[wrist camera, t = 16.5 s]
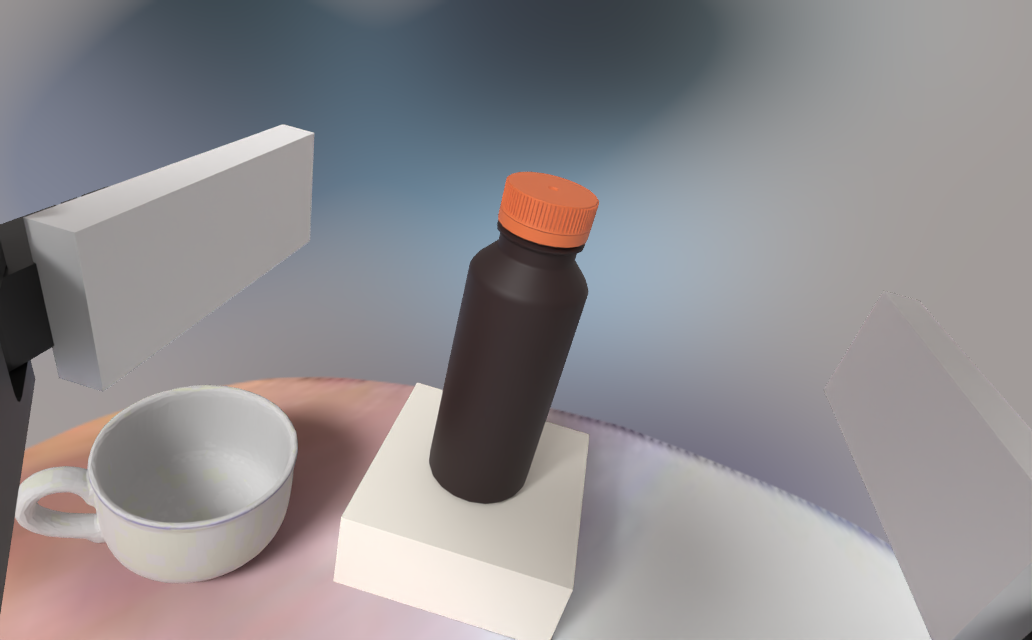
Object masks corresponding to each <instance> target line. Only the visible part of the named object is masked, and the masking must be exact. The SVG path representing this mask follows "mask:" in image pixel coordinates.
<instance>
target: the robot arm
mask: <svg viewBox="0 0 1032 640" xmlns="http://www.w3.org/2000/svg"><path fill="white" fill-rule="evenodd" d="M313 149H314V133H312V132H309V131H305V130H302V129H298V128H294V127H291V126H287V125H280V126H277V127H275V128H272V129H269V130H266V131H263V132H260V133H258V134H255V135H252V136H249V137H247V138H244V139H241V140H238V141H235V142H232V143H230V144H227V145H224V146H221V147H219V148H216V149H213V150H210V151H208V152H205V153H202V154H199V155H196V156H193V157H191V158H188V159H185V160H182V161H179V162H177V163H174V164H171V165H168V166H165V167H163V168H160V169H157V170H154V171H152V172H149V173H146V174H143V175H140V176H138V177H135V178H132V179H129V180H127V181H124V182H121V183H118V184H115V185H112V186H109V187H104V188H102V189H99V190H96V191H93V192H90V193H87V194H84V195H82V196H81V197H79V198H73V199H71V200H68V201H65V202H63V203H61V204H60V205H54V206H51V207H48V208H45V209H42V210H40V211H37V212H34V213H31V214H28V215H26V216H23V217H20V218H17V219H14V220H12V221H9V222H6V223H3V224H0V612H1V605H2V599H3V592H4V585H5V579H6V572H7V565H8V558H9V552H10V545H11V538H12V531H13V525H14V518H15V511H16V505H17V498H18V491H19V484H20V478H21V471H22V464H23V458H24V451H25V444H26V436H27V431H28V424H29V417H30V410H31V404H32V397H33V390H34V383H35V376H34V372H33V368H32V365H31V359H33V358H34V357H36V356H38V355H39V354H41V353H43V352H44V351H46V350H48V349H50V348H51V347H52V348H53V353H54V357H55V362H56V366H57V370H58V375H59V378H61V379H64V380H67V381H71V382H74V383H77V384H80V385H83V386H86V387H90V388H93V389H96V390H99V391H102V392H103V391H105V390H106V389H108V388H109V387H110V386H112V385H113V384H115V383H116V382H117V381H119V380H120V379H121V378H123V377H124V376H126V375H127V374H128V373H130V372H131V371H132V370H134V369H135V368H137V367H138V366H139V365H141V364H142V363H143V362H145V361H146V360H147V359H149V358H150V357H152V356H153V355H154V354H156V353H157V352H159V351H160V350H161V349H162V348H164V347H165V346H167V345H168V344H170V343H171V342H172V341H174V340H175V339H176V338H178V337H179V336H180V335H182V334H183V333H185V332H186V331H187V330H189V329H190V328H191V327H193V326H194V325H196V324H197V323H198V322H200V321H201V320H202V319H204V318H205V317H207V316H208V315H209V314H211V313H212V312H213V311H215V310H216V309H217V308H219V307H220V306H222V305H223V304H224V303H226V302H227V301H229V300H230V299H231V298H233V297H234V296H235V295H237V294H238V293H239V292H241V291H242V290H243V289H245V288H246V287H247V286H249V285H251V284H252V283H253V282H255V281H256V280H257V279H259V278H260V277H261V276H263V275H264V274H266V273H267V272H268V271H270V270H271V269H272V268H274V267H275V266H277V265H278V264H279V263H281V262H282V261H283V260H285V259H286V258H287V257H289V256H290V255H292V254H293V253H294V252H296V251H297V250H299V249H300V248H301V247H303V246H304V245H305V244H307V243H308V242H309V241H310V226H311V200H312V199H311V198H312V175H313V174H312V173H313ZM824 392H825V394H826V397H827V399H828V401H829V404H830V406H831V408H832V411H833V413H834V415H835V418H836V420H837V422H838V424H839V427H840V429H841V431H842V434H843V436H844V438H845V441H846V443H847V445H848V447H849V450H850V452H851V454H852V457H853V459H854V461H855V463H856V466H857V468H858V470H859V473H860V475H861V477H862V480H863V482H864V484H865V487H866V489H867V491H868V494H869V496H870V498H871V501H872V503H873V505H874V507H875V510H876V512H877V514H878V517H879V519H880V521H881V524H882V526H883V528H884V531H885V533H886V535H887V537H888V540H889V542H890V544H891V547H892V549H893V551H894V554H895V556H896V558H897V561H898V563H899V565H900V568H901V570H902V572H903V574H904V577H905V579H906V581H907V584H908V586H909V588H910V591H911V593H912V595H913V598H914V600H915V602H916V604H917V607H918V609H919V611H920V614H921V616H922V618H923V621H924V623H925V625H926V628H927V630H928V632H929V634H930V637H931V639H932V640H1032V430H1031V429H1030V428H1029V426H1028V425H1027V424H1026V423H1025V422H1024V420H1023V419H1022V418H1021V417H1020V416H1019V415H1018V413H1017V412H1016V411H1015V410H1014V409H1013V408H1012V407H1011V405H1010V404H1009V403H1008V402H1007V401H1006V400H1005V399H1004V397H1003V396H1002V395H1001V394H1000V393H999V392H998V390H997V389H996V388H995V387H994V386H993V385H992V384H991V382H990V381H989V380H988V379H987V378H986V377H985V376H984V375H983V373H982V372H981V371H980V370H979V369H978V367H977V366H976V365H975V364H974V363H973V362H972V361H971V360H970V358H969V357H968V356H967V355H966V354H965V353H964V351H963V350H962V349H961V348H960V347H959V346H958V345H957V343H956V342H955V341H954V340H953V339H952V338H951V336H950V335H949V334H948V333H947V332H946V331H945V330H944V328H943V327H942V326H941V325H940V324H939V323H938V321H937V320H936V319H935V318H934V317H933V316H932V315H931V314H930V312H929V311H928V310H927V309H926V308H925V307H924V305H923V304H922V303H921V302H920V301H919V300H917V299H912V298H909V297H906V296H902V295H898V294H895V293H891V292H888V291H883V292H882V294H881V295H880V297H879V299H878V300H877V302H876V304H875V305H874V307H873V308H872V310H871V312H870V313H869V315H868V317H867V319H866V320H865V322H864V324H863V325H862V327H861V328H860V330H859V332H858V333H857V335H856V337H855V338H854V340H853V342H852V343H851V345H850V347H849V348H848V350H847V352H846V353H845V355H844V356H843V358H842V360H841V361H840V363H839V365H838V366H837V368H836V370H835V372H834V373H833V375H832V376H831V378H830V380H829V381H828V383H827V385H826V386H825V388H824Z"/></svg>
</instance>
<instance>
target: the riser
mask: <svg viewBox="0 0 1032 640" xmlns="http://www.w3.org/2000/svg"><path fill="white" fill-rule="evenodd" d="M442 392H443V390H440V389H437V388H433V387H430V386H427V385H423V384H420V383H417V384H416V386H415V388H414V389H413V391H412V393H411V395H410V396H409V398H408V400H407V402H406V404H405V405H404V407H403V409H402V411H401V412H400V414H399V416H398V418H397V419H396V421H395V423H394V425H393V427H392V428H391V430H390V432H389V434H388V435H387V437H386V439H385V441H384V442H383V444H382V446H381V448H380V449H379V451H378V453H377V455H376V457H375V458H374V460H373V462H372V464H371V465H370V467H369V469H368V471H367V472H366V474H365V476H364V478H363V480H362V481H361V483H360V485H359V487H358V488H357V490H356V492H355V494H354V495H353V497H352V499H351V501H350V503H349V504H348V506H347V508H346V510H345V511H344V513H343V515H342V517H341V523H340V531H339V539H338V547H337V556H336V564H335V572H334V580H333V581H334V582H337V583H340V584H343V585H346V586H350V587H353V588H356V589H359V590H362V591H365V592H369V593H372V594H375V595H378V596H381V597H384V598H388V599H391V600H394V601H397V602H400V603H403V604H406V605H410V606H413V607H416V608H419V609H422V610H425V611H429V612H432V613H435V614H438V615H441V616H444V617H447V618H451V619H454V620H457V621H460V622H463V623H466V624H470V625H473V626H476V627H479V628H482V629H485V630H489V631H492V632H495V633H498V634H501V635H504V636H507V637H511V638H514V639H517V640H551V638H552V636H553V633H554V631H555V629H556V627H557V624H558V622H559V620H560V618H561V616H562V613H563V611H564V609H565V607H566V604H567V602H568V600H569V598H570V595H571V593H572V591H573V586H574V576H575V567H576V557H577V548H578V538H579V529H580V519H581V510H582V500H583V491H584V481H585V472H586V462H587V453H588V443H589V434H586V433H583V432H580V431H576V430H573V429H570V428H566V427H563V426H560V425H556V424H553V423H550V422H545V425H544V428H543V431H542V434H541V437H540V440H539V443H538V446H537V449H536V452H535V455H534V458H533V461H532V464H531V467H530V470H529V473H528V476H527V478H526V481H525V483H524V486H523V487H522V488H521V489H520V490H519V491H518V492H517V493H516V494H515V495H514V496H513V497H511V498H509V499H507V500H504V501H502V502H498V503H490V504H481V503H474V502H468V501H466V500H463V499H461V498H458V497H456V496H453V495H452V494H451V493H449V492H448V491H447V490H445V489H444V488H442V487H441V486H440V484H439V483H438V482H437V480H436V479H435V478H434V476H433V474H432V471H431V468H430V464H429V456H430V449H431V444H432V440H433V435H434V430H435V425H436V421H437V416H438V411H439V407H440V402H441V397H442Z"/></svg>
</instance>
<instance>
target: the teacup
mask: <svg viewBox="0 0 1032 640" xmlns="http://www.w3.org/2000/svg"><path fill="white" fill-rule="evenodd" d="M297 453H298V441H297V434H296V431H295V429H294V426H293V424H292V422H291V421H290V419H289V418H288V416H287V415H286V414H285V413H284V412H283V411H282V410H281V409H280V408H279V407H278V406H277V405H275V404H274V403H272V402H271V401H269V400H268V399H266V398H264V397H262V396H260V395H257V394H255V393H252V392H249V391H245V390H242V389H239V388H232V387H227V386H218V385H196V386H187V387H181V388H175V389H173V390H168V391H164V392H159V393H157V394H155V395H151V396H149V397H146V398H144V399H141V400H139V401H138V402H136V403H134V404H132V405H131V406H129V407H127V408H125V409H124V410H122V411H121V412H120V413H118V414H117V415H116V416H115V417H113V418H112V419H111V420H110V421H109V422H108V423H107V424H106V425H105V426H104V427H103V429H102V430H101V432H100V433H99V435H98V436H97V438H96V440H95V442H94V444H93V446H92V449H91V452H90V456H89V459H88V469H84V468H80V467H68V466H64V467H54V468H49V469H44V470H42V471H39V472H37V473H35V474H33V475H31V476H30V477H29V478H27V479H26V480H25V481H24V482H23V483H22V484H21V485H20V486H19V491H18V498H17V505H16V511H15V518H16V519H17V521H18V523H19V524H20V525H21V526H23V527H24V528H26V529H27V530H29V531H31V532H34V533H37V534H41V535H45V536H51V537H61V538H86V539H88V540H90V541H92V542H95V543H107V545H108V547H109V549H110V550H111V552H112V553H113V555H114V556H115V557H116V558H117V559H118V560H119V562H120V563H121V564H122V565H124V566H125V567H126V568H128V569H129V570H130V571H132V572H134V573H136V574H138V575H140V576H142V577H145V578H148V579H151V580H155V581H160V582H165V583H192V582H200V581H205V580H209V579H213V578H216V577H219V576H222V575H224V574H227V573H229V572H231V571H234V570H235V569H237V568H239V567H241V566H243V565H244V564H246V563H247V562H248V561H250V560H251V559H253V558H254V557H255V556H257V555H258V554H259V553H260V552H261V551H262V550H263V549H264V548H265V547H266V546H267V545H268V544H269V542H270V541H271V540H272V539H273V537H274V536H275V534H276V533H277V531H278V529H279V527H280V526H281V524H282V522H283V519H284V517H285V514H286V511H287V507H288V504H289V499H290V493H291V487H292V480H293V470H294V466H295V462H296V458H297ZM61 492H70V493H74V494H77V495H79V496H81V497H82V498H83V499H84V500H85V502H86V503H87V504H89V505H91V506H94V507H95V509H96V512H97V513H96V514H82V513H66V512H59V511H54V510H50V509H47V508H44V507H42V506H40V505H39V504H38V503H37V502H38V501H39V499H40V498H42V497H44V496H46V495H49V494H54V493H61Z"/></svg>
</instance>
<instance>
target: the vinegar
mask: <svg viewBox="0 0 1032 640" xmlns="http://www.w3.org/2000/svg"><path fill="white" fill-rule="evenodd" d="M598 205H599V200H598V199H597V197H596V196H595V195H594V194H593V193H592V192H591V191H590V190H588V189H586V188H584V187H583V186H581V185H579V184H577V183H574V182H572V181H570V180H567V179H564V178H560V177H557V176H553V175H549V174H544V173H536V172H518V173H514V174H511V175H509V176H508V177H507V180H506V184H505V188H504V193H503V197H502V201H501V206H500V210H499V214H498V218H499V219H498V223H497V224H498V225H497V226H498V230H499V231H500V237H499V240H497V241H495V242H494V243H492V244H490V245H489V246H487V247H486V248H483V249H482V250H480V251H479V252H478V253H477V254H476V255H475V256H474V257H473V259H472V260H471V262H470V265H469V270H468V275H467V280H466V285H465V289H464V294H463V298H462V303H461V308H460V313H459V317H458V322H457V327H456V332H455V336H454V341H453V345H452V350H451V355H450V360H449V364H448V369H447V374H446V378H445V383H444V388H443V392H442V397H441V402H440V407H439V411H438V416H437V421H436V425H435V430H434V435H433V440H432V444H431V449H430V456H429V464H430V468H431V471H432V474H433V476H434V478H435V479H436V480H437V482H438V483H439V484H440V486H441V487H442V488H444V489H445V490H447V491H448V492H449V493H451V494H452V495H453V496H456V497H458V498H461V499H463V500H466V501H468V502H474V503H481V504H490V503H498V502H502V501H504V500H507V499H509V498H511V497H513V496H514V495H515V494H516V493H517V492H518V491H519V490H520V489H521V488H522V487H523V486H524V483H525V481H526V478H527V476H528V473H529V470H530V467H531V464H532V461H533V458H534V455H535V452H536V449H537V446H538V443H539V440H540V437H541V434H542V431H543V428H544V425H545V422H546V419H547V416H548V413H549V410H550V407H551V403H552V401H553V398H554V395H555V392H556V388H557V386H558V383H559V379H560V377H561V374H562V371H563V368H564V364H565V362H566V358H567V356H568V353H569V350H570V347H571V344H572V341H573V337H574V335H575V332H576V329H577V326H578V323H579V320H580V316H581V313H582V311H583V307H584V304H585V301H586V299H587V295H588V287H587V283H586V280H585V278H584V275H583V274H582V272H581V270H580V269H579V267H578V265H577V263H576V261H575V258H576V254H577V253H579V252H581V251H582V250H583V248H584V246H585V243H586V241H587V239H588V236H589V233H590V230H591V227H592V224H593V221H594V218H595V215H596V211H597V208H598Z"/></svg>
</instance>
